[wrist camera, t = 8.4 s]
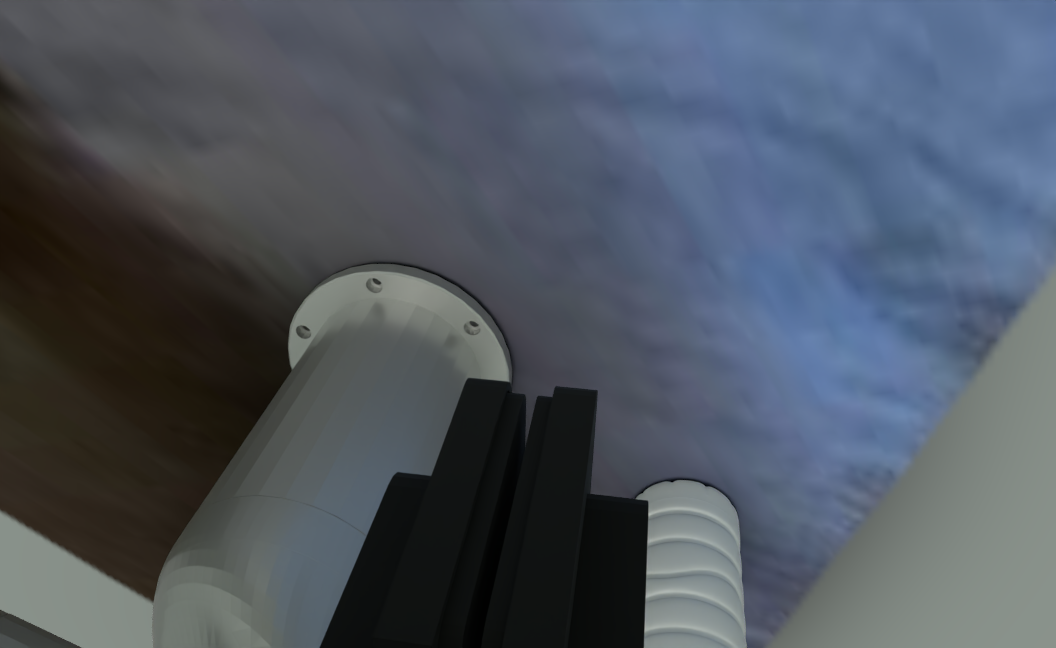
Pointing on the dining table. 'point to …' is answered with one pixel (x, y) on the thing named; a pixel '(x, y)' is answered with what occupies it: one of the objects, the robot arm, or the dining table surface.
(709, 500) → the water bottle
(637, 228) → the dining table surface
